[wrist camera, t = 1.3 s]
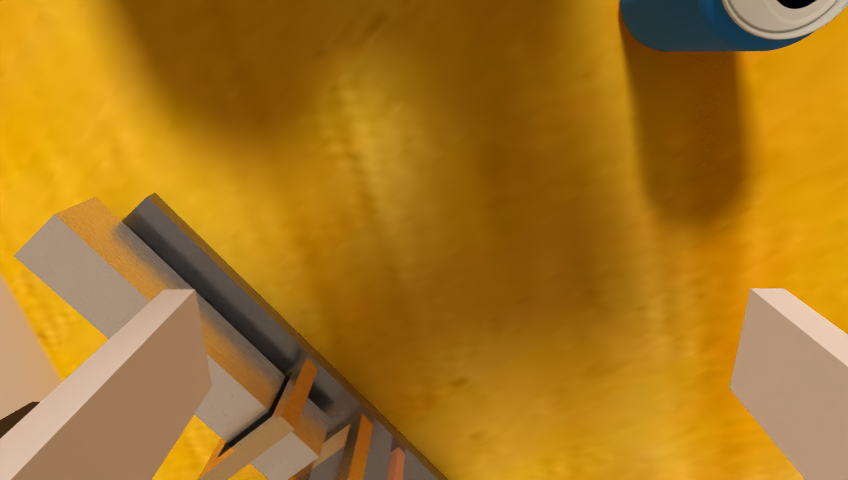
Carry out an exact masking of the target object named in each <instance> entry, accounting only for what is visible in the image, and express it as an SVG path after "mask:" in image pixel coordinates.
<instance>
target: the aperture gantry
mask: <svg viewBox="0 0 848 480" xmlns="http://www.w3.org/2000/svg"><path fill="white" fill-rule="evenodd" d="M404 459H405V453H404V452H403V451H402V450H401V449H400V448H399V447H398V448H396V449H395V450H393V451H392V452H390V460H389V467H388V475H387V480H403V470H404Z"/></svg>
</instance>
